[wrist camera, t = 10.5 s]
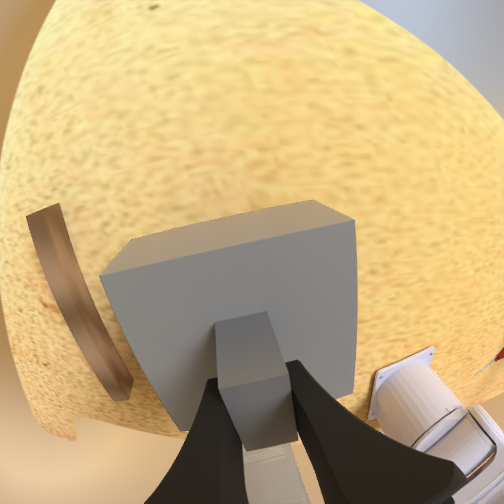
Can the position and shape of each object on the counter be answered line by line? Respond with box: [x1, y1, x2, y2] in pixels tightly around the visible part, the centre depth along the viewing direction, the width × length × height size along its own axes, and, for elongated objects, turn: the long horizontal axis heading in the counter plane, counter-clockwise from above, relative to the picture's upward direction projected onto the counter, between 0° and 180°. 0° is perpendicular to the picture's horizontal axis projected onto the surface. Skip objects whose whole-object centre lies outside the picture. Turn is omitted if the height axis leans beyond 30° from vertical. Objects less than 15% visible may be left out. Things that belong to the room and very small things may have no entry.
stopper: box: [26, 203, 134, 401], centre depth 17 cm, size 16×2×2 cm, turn 10°
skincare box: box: [242, 443, 310, 504], centre depth 19 cm, size 8×7×16 cm
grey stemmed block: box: [99, 200, 357, 452], centre depth 12 cm, size 10×10×8 cm
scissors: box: [474, 348, 504, 376], centre depth 31 cm, size 5×14×1 cm, turn 103°
